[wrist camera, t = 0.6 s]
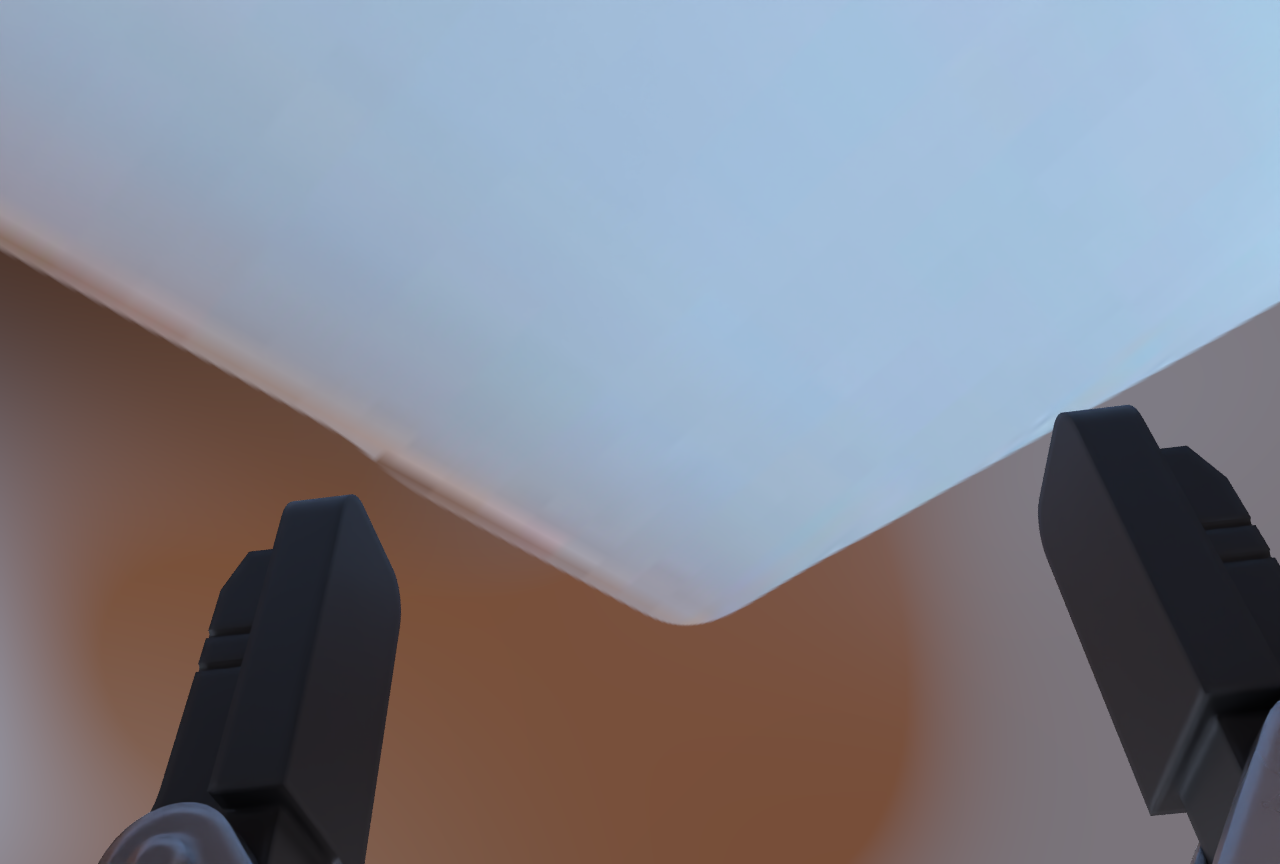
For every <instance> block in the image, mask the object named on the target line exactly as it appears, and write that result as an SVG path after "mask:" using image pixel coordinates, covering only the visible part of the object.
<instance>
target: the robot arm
mask: <svg viewBox="0 0 1280 864" xmlns="http://www.w3.org/2000/svg"><path fill="white" fill-rule="evenodd" d="M1250 518H1251V517H1250V515H1249V514H1248V512H1247V510H1246V509H1245V507H1244V505H1243V504H1242V502H1241V500H1240V499H1239V497H1238V495H1237V494H1236V492H1235V490H1234V489H1233V487H1232V485H1231V484H1230V482H1229V480H1228V479H1227V478H1226V477H1225V476H1224V475H1223V474H1222V473H1220V472H1219V471H1218V470H1216V469H1215V468H1214V467H1213V466H1212V465H1210V464H1209V463H1208V462H1206V461H1205V460H1204V459H1203V458H1202V457H1200V456H1199V455H1198V454H1197V453H1195V452H1194V451H1193V450H1192V449H1190V448H1189V447H1188V446H1181V447H1172V448H1163V449H1160V448H1159V446H1158V445H1157V443H1156V441H1155V439H1154V437H1153V436H1152V434H1151V432H1150V430H1149V428H1148V427H1147V425H1146V423H1145V421H1144V419H1143V418H1142V416H1141V415H1140V413H1139V412H1138V411H1137V409H1136V408H1134V407H1133V406H1131V405H1123V406H1114V407H1106V408H1097V409H1089V410H1080V411H1072V412H1063V413H1060V414H1059V415H1058V416H1057V418H1056V420H1055V424H1054V428H1053V433H1052V438H1051V443H1050V448H1049V453H1048V458H1047V463H1046V468H1045V473H1044V478H1043V483H1042V488H1041V493H1040V498H1039V504H1038V519H1039V530H1040V536H1041V540H1042V545H1043V548H1044V552H1045V554H1046V557H1047V559H1048V562H1049V565H1050V567H1051V569H1052V572H1053V575H1054V577H1055V580H1056V582H1057V584H1058V587H1059V589H1060V592H1061V594H1062V597H1063V599H1064V602H1065V604H1066V607H1067V609H1068V612H1069V614H1070V617H1071V619H1072V622H1073V624H1074V627H1075V629H1076V632H1077V634H1078V637H1079V639H1080V642H1081V644H1082V647H1083V649H1084V651H1085V654H1086V657H1087V659H1088V661H1089V664H1090V666H1091V669H1092V671H1093V674H1094V676H1095V679H1096V681H1097V684H1098V686H1099V689H1100V691H1101V693H1102V696H1103V699H1104V701H1105V704H1106V706H1107V709H1108V711H1109V714H1110V716H1111V719H1112V721H1113V723H1114V726H1115V729H1116V731H1117V733H1118V736H1119V738H1120V741H1121V743H1122V746H1123V748H1124V751H1125V753H1126V756H1127V758H1128V761H1129V763H1130V766H1131V768H1132V770H1133V773H1134V776H1135V778H1136V781H1137V783H1138V786H1139V788H1140V791H1141V793H1142V796H1143V798H1144V800H1145V803H1146V805H1147V808H1148V810H1149V813H1150V815H1151V816H1154V815H1165V814H1175V813H1186V812H1187V814H1188V817H1189V819H1190V821H1191V824H1192V826H1193V828H1194V830H1195V833H1196V835H1197V837H1198V840H1199V843H1198V846H1197V848H1196V850H1195V852H1194V855H1193V858H1192V861H1191V864H1280V565H1279V563H1278V562H1277V560H1276V559H1275V558H1272V557H1271V556H1270V548H1269V547H1268V545H1267V544H1266V542H1265V540H1264V538H1263V537H1262V535H1261V534H1260V532H1259V530H1258V529H1257V527H1256V525H1252V524H1251V521H1250ZM400 617H401V604H400V594H399V587H398V583H397V579H396V576H395V573H394V570H393V568H392V566H391V564H390V562H389V560H388V558H387V555H386V553H385V552H384V549H383V547H382V545H381V543H380V540H379V538H378V536H377V534H376V532H375V530H374V528H373V525H372V523H371V521H370V519H369V517H368V515H367V513H366V511H365V508H364V506H363V504H362V503H361V501H360V500H359V498H358V497H357V496H356V495H353V494H351V495H343V496H334V497H326V498H318V499H309V500H301V501H293V502H290V503H288V504H287V506H286V507H285V509H284V511H283V514H282V516H281V520H280V524H279V528H278V531H277V535H276V539H275V542H274V546H273V549H269V550H261V551H252V552H249V553H248V554H247V555H246V557H245V558H244V559H243V561H242V562H241V564H240V565H239V566H238V567H237V569H236V570H235V571H234V573H233V574H232V576H231V577H230V578H229V580H228V581H227V582H226V584H225V585H224V586H223V588H222V589H221V591H220V594H219V598H218V601H217V604H216V608H215V611H214V614H213V617H212V620H211V624H210V627H209V634H210V635H209V638H206V640H205V643H204V647H203V650H202V653H201V657H200V660H199V663H198V664H199V672H196V673H195V676H194V680H193V683H192V686H191V689H190V693H189V696H188V699H187V702H186V706H185V709H184V712H183V716H182V719H181V722H180V725H179V729H178V732H177V735H176V739H175V742H174V745H173V748H172V752H171V755H170V758H169V762H168V765H167V768H166V771H165V775H164V779H163V781H162V785H161V788H160V791H159V794H158V796H157V799H156V802H155V804H154V806H153V808H152V810H151V812H150V813H148V814H146V815H144V816H143V817H141V818H140V819H138V820H136V821H135V822H134V823H133V824H131V825H130V826H129V827H127V828H126V829H125V830H124V831H123V832H122V833H121V834H120V835H119V836H118V837H117V838H116V839H115V840H114V841H113V843H112V844H111V845H110V846H109V848H108V849H107V850H106V852H105V853H104V855H103V856H102V858H101V860H100V861H99V863H98V864H364V863H365V856H366V850H367V843H368V836H369V829H370V823H371V816H372V809H373V803H374V796H375V789H376V782H377V776H378V769H379V762H380V755H381V749H382V743H383V735H384V729H385V722H386V716H387V708H388V701H389V696H390V689H391V682H392V675H393V669H394V661H395V654H396V648H397V642H398V635H399V629H400V619H401V618H400Z"/></svg>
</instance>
